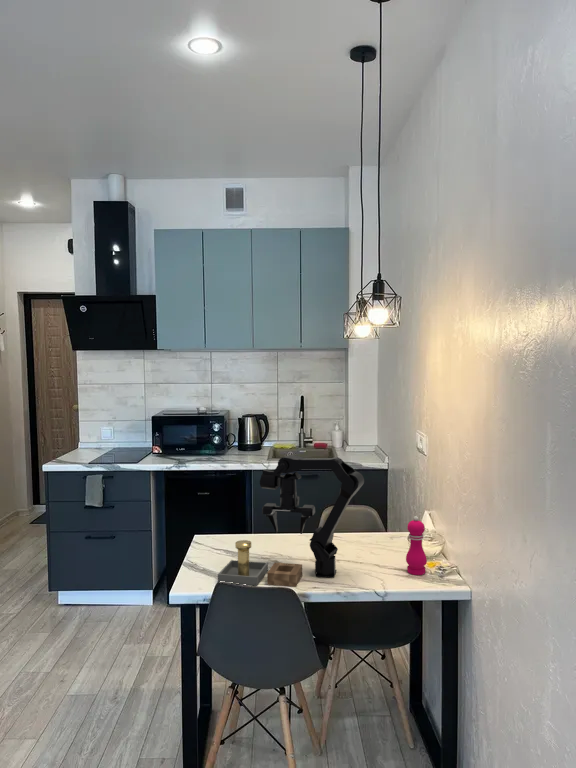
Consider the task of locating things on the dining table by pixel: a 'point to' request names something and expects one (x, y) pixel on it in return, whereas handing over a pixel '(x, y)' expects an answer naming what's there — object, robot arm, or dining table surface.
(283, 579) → the walnut block
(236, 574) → the charcoal tray
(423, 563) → the pepper mill
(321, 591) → the dining table surface
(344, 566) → the dining table surface
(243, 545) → the brass pin
